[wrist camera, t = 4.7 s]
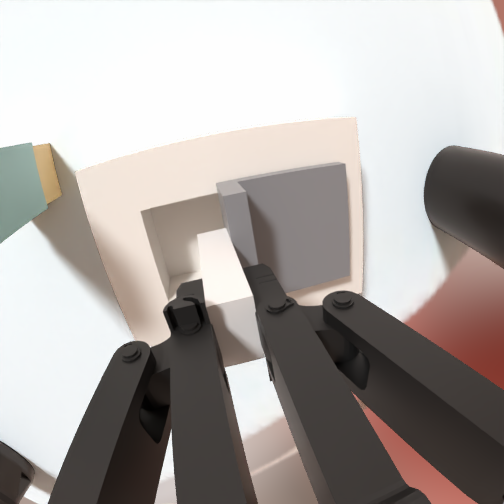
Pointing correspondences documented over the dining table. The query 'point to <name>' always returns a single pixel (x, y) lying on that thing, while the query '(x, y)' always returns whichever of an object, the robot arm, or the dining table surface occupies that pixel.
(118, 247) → the socket block
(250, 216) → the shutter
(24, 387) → the dining table surface
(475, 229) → the water bottle
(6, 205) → the teal block
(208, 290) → the robot arm
